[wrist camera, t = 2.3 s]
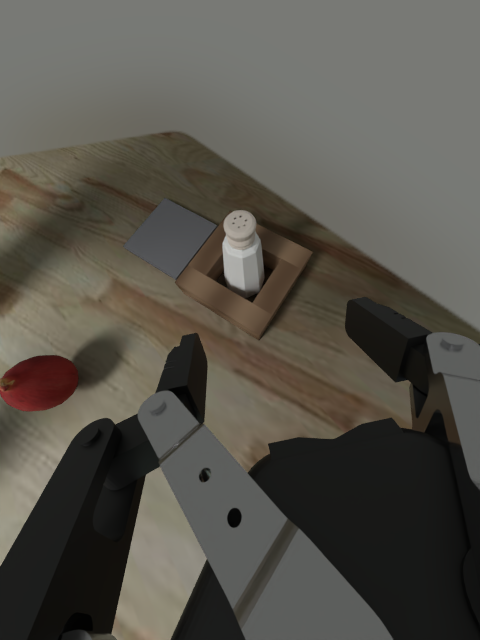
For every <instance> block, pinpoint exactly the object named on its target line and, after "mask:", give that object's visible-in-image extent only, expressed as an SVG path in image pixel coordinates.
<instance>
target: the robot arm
mask: <svg viewBox="0 0 480 640" xmlns="http://www.w3.org/2000/svg"><path fill="white" fill-rule="evenodd" d="M345 329H346V332H347V334H348V336H349V337H350V338H351V339H352V340H353V341H354V342H355V343H356V344H357V345H358V346H359V347H360V348H361V349H362V350H363V351H364V352H365V353H366V354H367V355H368V356H369V357H370V358H371V359H372V360H373V361H374V362H375V363H376V364H377V365H378V366H379V367H380V368H381V369H382V370H383V371H384V372H385V373H386V374H387V375H388V376H389V377H390V378H391V379H392V380H393V381H395V382H400V381H405V380H409V381H410V382H411V384H410V387H409V392H410V403H411V414H412V429H405V428H400V427H399V426H398V425H397V423H396V422H395V421H394V420H393V419H392V418H388V419H383V420H379V421H374V422H369V423H364V424H361V425H359V426H357V427H355V428H354V429H352V430H350V431H348V432H346V433H345V434H343V435H341V436H339V437H338V438H335V439H318V438H300V437H298V438H293V439H289V440H284V441H279V442H274V443H270V444H268V445H269V450H270V454H268V455H267V456H265V457H263V458H262V459H261V460H259V461H258V462H257V463H256V464H255V465H254V466H253V467H252V468H251V469H250V471H249V472H248V473H247V472H246V471H245V470H244V469H243V468H242V466H241V465H240V464H239V463H238V462H237V461H236V460H235V459H234V457H233V456H232V455H231V454H230V453H229V452H228V451H227V449H226V448H225V447H224V446H223V445H222V444H221V443H220V441H219V440H218V439H217V438H216V437H215V436H214V435H213V433H212V432H211V431H210V430H209V429H208V428H207V427H206V426H205V425H204V424H203V422H204V417H205V400H206V383H207V358H206V355H205V352H204V349H203V346H202V344H201V341H200V338H199V335H198V334H197V333H194V334H189V335H184V336H182V339H181V342H180V346H178V347H174V348H173V349H172V351H171V352H170V353H169V354H168V357H167V360H166V364H165V366H164V370H163V372H162V375H161V378H160V381H159V384H158V387H157V390H156V393H155V394H153V395H152V396H150V397H149V398H148V399H147V400H145V401H144V403H143V404H142V405H141V407H140V409H139V411H138V414H136V415H134V416H132V417H130V418H128V419H126V420H124V421H122V422H120V423H118V424H116V425H115V424H114V422H113V421H112V420H111V419H108V418H103V419H99V420H96V421H94V422H92V423H90V424H89V425H87V426H86V427H85V428H83V429H82V430H81V431H80V432H79V433H78V434H77V435H76V436H75V438H74V439H73V440H72V442H71V443H70V445H69V447H68V449H67V450H66V452H65V454H64V456H63V457H62V459H61V461H60V463H59V464H58V466H57V468H56V470H55V471H54V473H53V475H52V477H51V479H50V480H49V482H48V484H47V486H46V487H45V489H44V491H43V493H42V494H41V496H40V498H39V500H38V501H37V503H36V505H35V507H34V508H33V510H32V512H31V514H30V515H29V517H28V519H27V521H26V522H25V524H24V526H23V528H22V529H21V531H20V533H19V535H18V537H17V538H16V540H15V542H14V544H13V545H12V547H11V549H10V551H9V552H8V554H7V556H6V558H5V559H4V561H3V563H2V565H1V566H0V640H117V639H116V638H115V637H114V636H113V635H111V633H112V628H113V624H114V619H115V615H116V610H117V605H118V601H119V596H120V591H121V587H122V582H123V578H124V573H125V568H126V564H127V559H128V555H129V550H130V545H131V541H132V536H133V532H134V527H135V522H136V518H137V513H138V509H139V504H140V499H141V495H142V490H143V485H144V481H145V476H146V474H148V473H149V472H151V471H153V470H154V469H156V468H158V467H161V469H162V471H163V473H164V475H165V477H166V479H167V481H168V483H169V485H170V487H171V489H172V491H173V493H174V495H175V497H176V499H177V501H178V503H179V505H180V507H181V508H182V510H183V512H184V514H185V516H186V518H187V520H188V522H189V524H190V526H191V528H192V530H193V532H194V534H195V536H196V538H197V540H198V542H199V544H200V546H201V548H202V550H203V551H204V553H205V555H206V557H207V560H206V562H205V564H204V567H203V569H202V571H201V573H200V576H199V578H198V580H197V582H196V584H195V587H194V589H193V591H192V593H191V596H190V598H189V600H188V602H187V604H186V607H185V609H184V611H183V613H182V616H181V618H180V620H179V622H178V624H177V627H176V629H175V631H174V633H173V636H172V638H171V640H480V344H477V343H476V342H475V341H473V340H471V339H469V338H467V337H464V336H462V335H458V334H454V333H447V332H437V333H432V332H430V331H429V330H427V329H425V328H424V327H422V326H420V325H418V324H417V323H415V322H413V321H412V320H410V319H408V318H406V317H405V316H403V315H401V314H398V312H396V311H395V310H393V309H391V308H389V307H386V306H383V305H380V304H377V303H375V302H373V301H372V300H370V299H368V298H367V297H362V298H357V299H353V300H349V301H348V303H347V310H346V321H345Z"/></svg>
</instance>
